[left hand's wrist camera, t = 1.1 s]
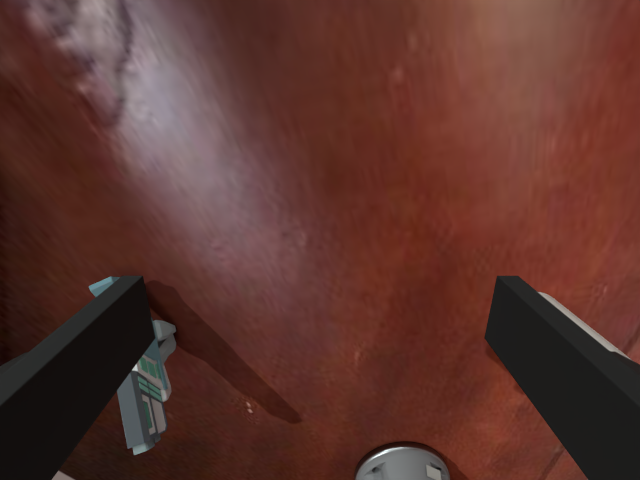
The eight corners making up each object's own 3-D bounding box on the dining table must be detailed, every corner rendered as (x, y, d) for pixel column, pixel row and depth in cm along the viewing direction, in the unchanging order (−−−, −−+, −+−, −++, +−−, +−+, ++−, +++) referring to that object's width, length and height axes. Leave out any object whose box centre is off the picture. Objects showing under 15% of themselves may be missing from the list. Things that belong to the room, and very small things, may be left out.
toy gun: (179, 428, 44) (117, 462, 34) (148, 289, 49) (86, 285, 39) (203, 419, 43) (148, 451, 34) (169, 279, 48) (112, 273, 39)
